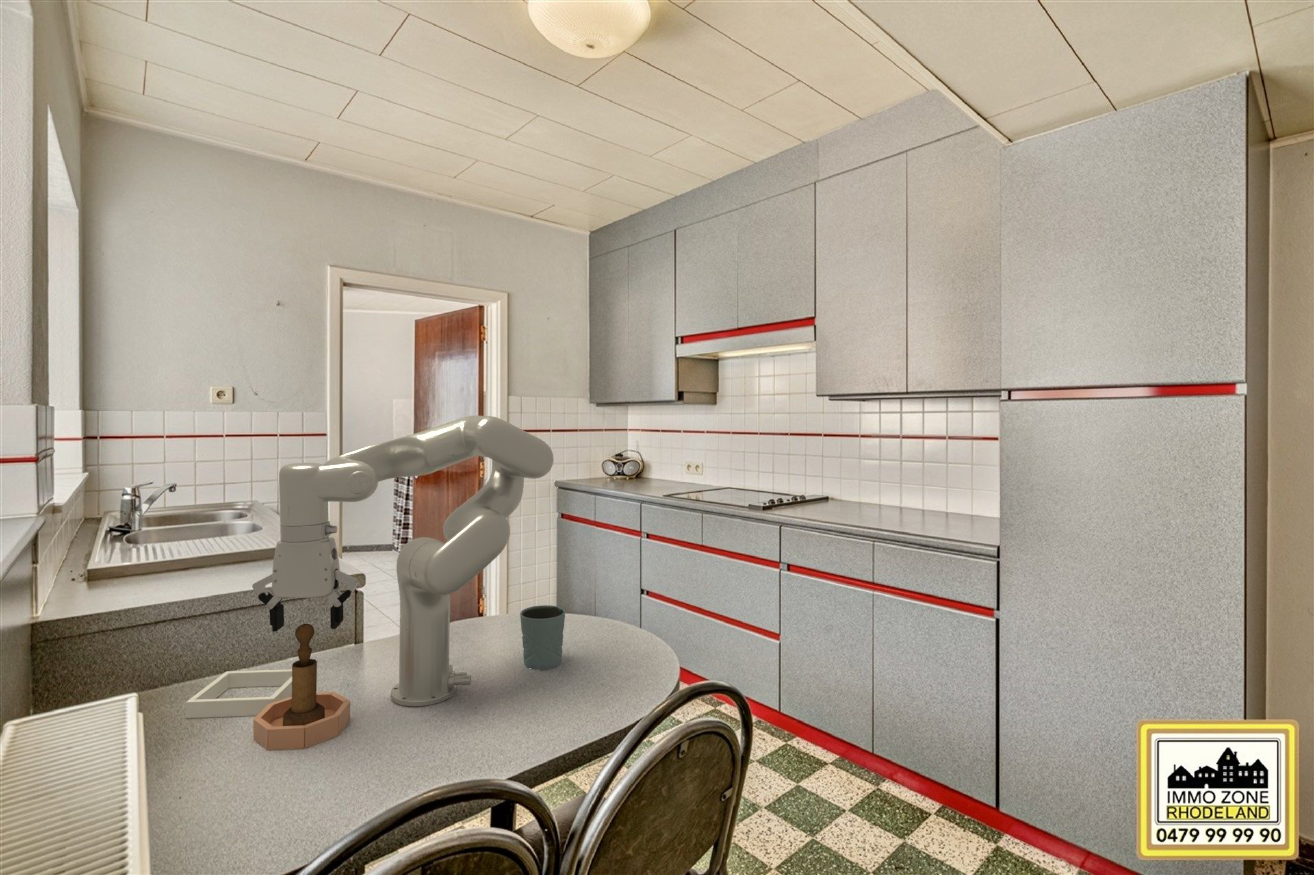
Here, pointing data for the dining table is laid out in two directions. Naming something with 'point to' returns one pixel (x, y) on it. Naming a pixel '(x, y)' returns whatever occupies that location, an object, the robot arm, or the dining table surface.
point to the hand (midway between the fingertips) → (307, 627)
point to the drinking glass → (542, 636)
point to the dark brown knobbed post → (304, 684)
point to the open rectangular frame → (209, 706)
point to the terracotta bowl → (299, 737)
